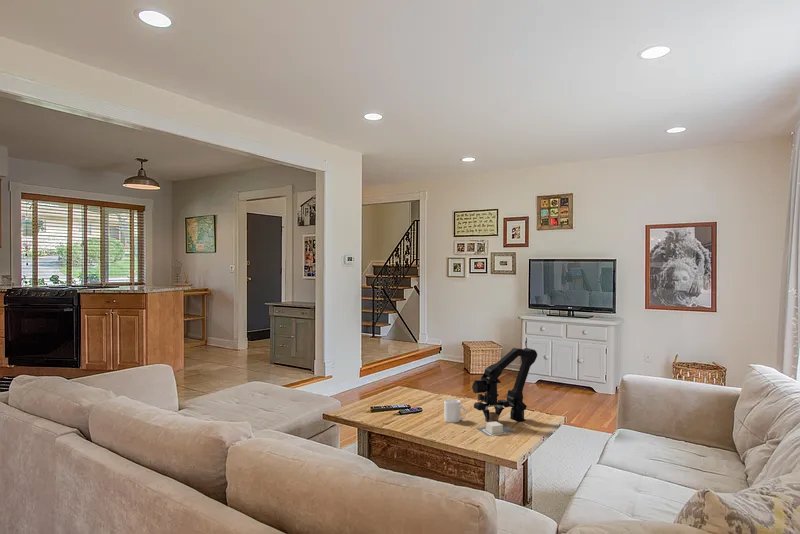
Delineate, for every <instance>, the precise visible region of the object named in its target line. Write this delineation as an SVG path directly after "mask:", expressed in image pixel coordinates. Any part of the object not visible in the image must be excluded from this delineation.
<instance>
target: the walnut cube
mask: <svg viewBox="0 0 800 534" xmlns="http://www.w3.org/2000/svg"><path fill="white" fill-rule="evenodd" d="M484 420H485V423H487V421H486V418H485V419H484ZM495 421H497V422H498V423H499V418H498V414H497V413H495V411H489V420H488V422H495Z"/></svg>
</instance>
